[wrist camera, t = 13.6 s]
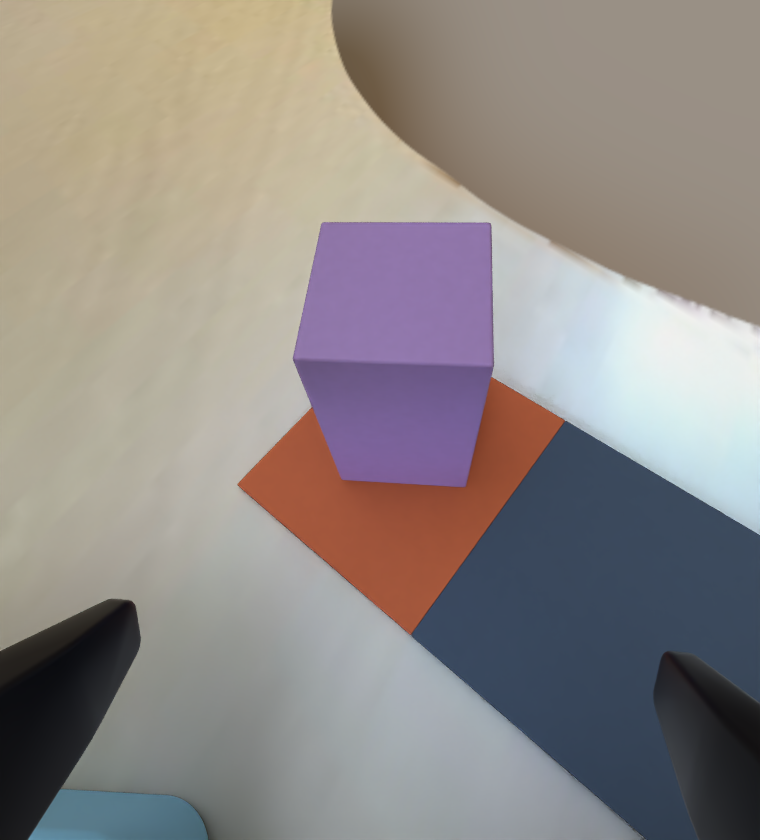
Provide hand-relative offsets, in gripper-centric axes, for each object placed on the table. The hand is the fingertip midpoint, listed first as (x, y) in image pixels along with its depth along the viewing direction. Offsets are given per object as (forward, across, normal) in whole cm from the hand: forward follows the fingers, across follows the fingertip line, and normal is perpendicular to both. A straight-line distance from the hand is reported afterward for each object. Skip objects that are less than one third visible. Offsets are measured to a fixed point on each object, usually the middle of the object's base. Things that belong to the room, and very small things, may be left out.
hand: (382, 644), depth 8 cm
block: (+13, 0, 0) cm, 13 cm away
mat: (+9, -6, +5) cm, 12 cm away
